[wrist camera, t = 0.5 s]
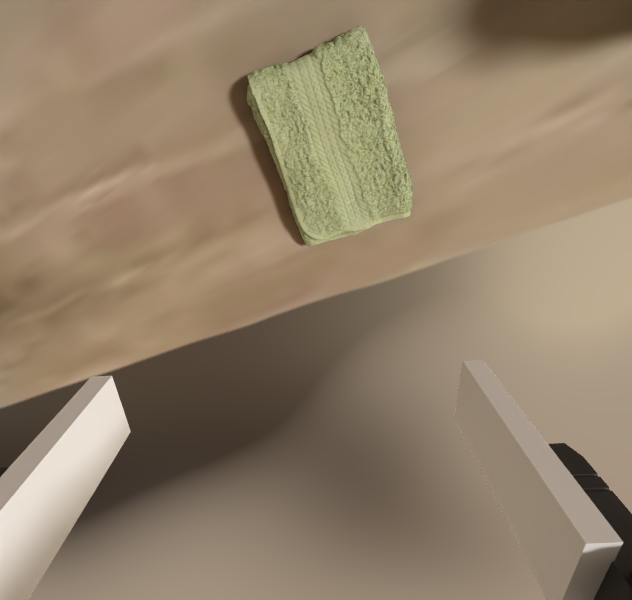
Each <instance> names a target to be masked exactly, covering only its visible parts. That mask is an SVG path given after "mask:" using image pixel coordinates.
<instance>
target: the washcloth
mask: <svg viewBox="0 0 632 600" xmlns="http://www.w3.org/2000/svg"><path fill="white" fill-rule="evenodd" d="M247 77H248V81H249V85H248V87H247V89H248V90H247V98H246V99H247V103H248V105H249V106H250V107H251V110H252V111H253V115H254V117H253V118H254V119H255V120H256V123H257V125H258V127H259V129H260V133H261V134H262V135H263V136H264V138H265V140H266V141H267V145H268V147H269V151H270V153H271V154H272V158H273V159H274V163H275V164H276V167H277V171H278V173H279V175H280V178H281V180H282V182H283V185H284V190H286V191H287V194H288V200H289V205H290V207H291V209H292V215H293V217H294V218H295V222H296V225H297V226H298V227H299V232H300V234H301V237H302V239H303V240H304V242H305V244H306V245H308V246H312V245H316V244H319V243H322V242H325V241H329V240H334V239H338V238H343V237H346V236H350V235H355V234H358V233H360V232H362V231H364V230H366V229H368V228H370V227H372V226H373V225H375V224H378V223H381V222H385V221H389V220H392V219H397V218H404V217H408V216H410V208H412V200H411V198H412V192H413V188H414V187H413V185H412V182H411V175H409V174H408V173H409V172H408V171H407V169H406V168H407V167H406V161H405V160H404V155H403V154H402V148H401V147H400V142H399V140H398V138H399V137H398V134H397V132H396V128H395V127H396V126H395V122H394V121H393V120H394V116H393V111H392V110H391V106H390V103H389V102H388V97H387V87H386V84H385V83H384V82H383V80H384V76H383V74H382V73H381V71H380V66H379V64H378V60H377V57H376V56H375V54H374V51H373V46H371V43H370V39H369V36H368V33H367V32H366V31H365V28H362V27H361V26H358V27H356V28H354V29H352V30H349V31H348V32H347V33H346V34H344V33H343V34H342V35H340V36H337V37H335V38H334V40H332V41H331V42H328V43H323V44H321V45H319V46H317V47H315V48H314V50H313V52H311V53H310V54H309V55H305V56H303V57H301V58H298V59H297V60H295V61H293V62H290V63H286V62H284V63H279V64H275V65H274V67H273V66H269V67H263V68H260V69H258V70H255V71H253V72H252V73H251V74H249V75H248V76H247Z"/></svg>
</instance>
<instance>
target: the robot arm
mask: <svg viewBox="0 0 632 600" xmlns="http://www.w3.org/2000/svg"><path fill="white" fill-rule="evenodd" d="M454 419H455V421H456V423H457V425H458V427H459V429H460V430H461V432H462V435H463V436H464V439H465V440H466V442H467V444H468V446H469V448H470V450H471V452H472V454H473V456H474V458H475V460H476V462H477V464H478V466H479V468H480V470H481V472H482V474H483V476H484V478H485V480H486V482H487V484H488V486H489V488H490V490H491V492H492V494H493V496H494V498H495V499H496V502H497V503H498V506H499V507H500V509H501V511H502V513H503V515H504V517H505V519H506V521H507V523H508V525H509V527H510V529H511V531H512V533H513V535H514V537H515V539H516V541H517V543H518V545H519V547H520V549H521V551H522V553H523V555H524V557H525V559H526V561H527V563H528V565H529V567H530V569H531V570H532V573H533V574H534V576H535V578H536V580H537V582H538V584H539V586H540V588H541V590H542V592H543V594H544V596H545V598H546V600H632V514H631V513H630V512H629V511H628V509H627V508H626V507H625V506H624V504H623V503H622V502H621V501H620V500H619V499H618V497H617V496H616V495H615V494H614V493H613V491H610V490H609V487H608V486H607V484H606V483H605V482H604V481H603V480H602V478H601V477H598V475H597V473H596V472H595V470H594V469H593V468H592V467H591V466H590V464H589V463H588V462H587V461H586V460H585V458H583V457H582V456H581V455H580V454H578V453H577V452H576V451H574V450H573V449H572V448H570V447H569V446H567V445H566V444H565V443H558V444H548V443H547V442H546V441H545V440H544V438H543V437H542V436H541V434H540V433H539V432H538V430H537V429H536V428H535V427H534V425H533V424H532V423H531V421H530V420H529V419H528V417H527V416H526V415H525V414H524V412H523V411H522V410H521V408H520V407H519V406H518V404H517V403H516V402H515V401H514V399H513V398H512V397H511V395H510V394H509V393H508V391H507V390H506V389H505V388H504V386H503V385H502V384H501V382H500V381H499V380H498V379H497V377H496V376H495V375H494V373H493V372H492V371H491V369H490V368H489V367H488V365H487V364H486V363H485V362H484V360H469V361H463V362H462V368H461V375H460V382H459V389H458V395H457V402H456V409H455V415H454ZM130 432H131V431H130V429H129V425H128V422H127V420H126V416H125V413H124V410H123V408H122V405H121V402H120V399H119V396H118V393H117V390H116V387H115V384H114V381H113V378H112V376H97V377H91V378H90V379H89V380H88V381H87V382H86V384H84V386H83V387H82V388H81V389H80V390H79V391H78V392H77V393H76V394H75V396H74V397H73V398H72V399H71V400H70V401H69V402H68V403H67V404H66V405H65V407H64V408H63V409H62V410H61V411H60V412H59V413H58V414H57V415H56V417H55V418H54V419H53V420H52V421H51V422H50V423H49V424H48V425H47V426H46V427H45V429H44V430H43V431H42V432H41V433H40V434H39V435H38V436H37V437H36V438H35V440H34V441H33V442H32V443H31V444H30V445H29V446H28V447H27V448H26V450H25V451H24V452H23V453H22V454H21V455H20V456H19V457H18V458H17V459H16V460H15V462H14V463H13V464H12V465H11V466H10V467H9V468H0V600H28V599H29V598H30V596H31V595H32V593H33V591H34V590H35V588H36V587H37V585H38V583H39V581H40V580H41V578H42V576H43V575H44V573H45V572H46V570H47V568H48V567H49V565H50V563H51V562H52V560H53V559H54V557H55V555H56V554H57V552H58V550H59V549H60V547H61V545H62V544H63V542H64V540H65V539H66V537H67V535H68V534H69V532H70V531H71V529H72V527H73V525H74V524H75V522H76V520H77V519H78V517H79V516H80V514H81V512H82V511H83V509H84V508H85V506H86V504H87V503H88V500H89V499H90V498H91V496H92V494H93V493H94V491H95V489H96V488H97V486H98V484H99V483H100V481H101V480H102V478H103V476H104V475H105V473H106V471H107V470H108V468H109V466H110V465H111V463H112V462H113V460H114V458H115V456H116V455H117V453H118V452H119V450H120V448H121V447H122V445H123V443H124V442H125V440H126V438H127V437H128V435H129V434H130Z"/></svg>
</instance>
